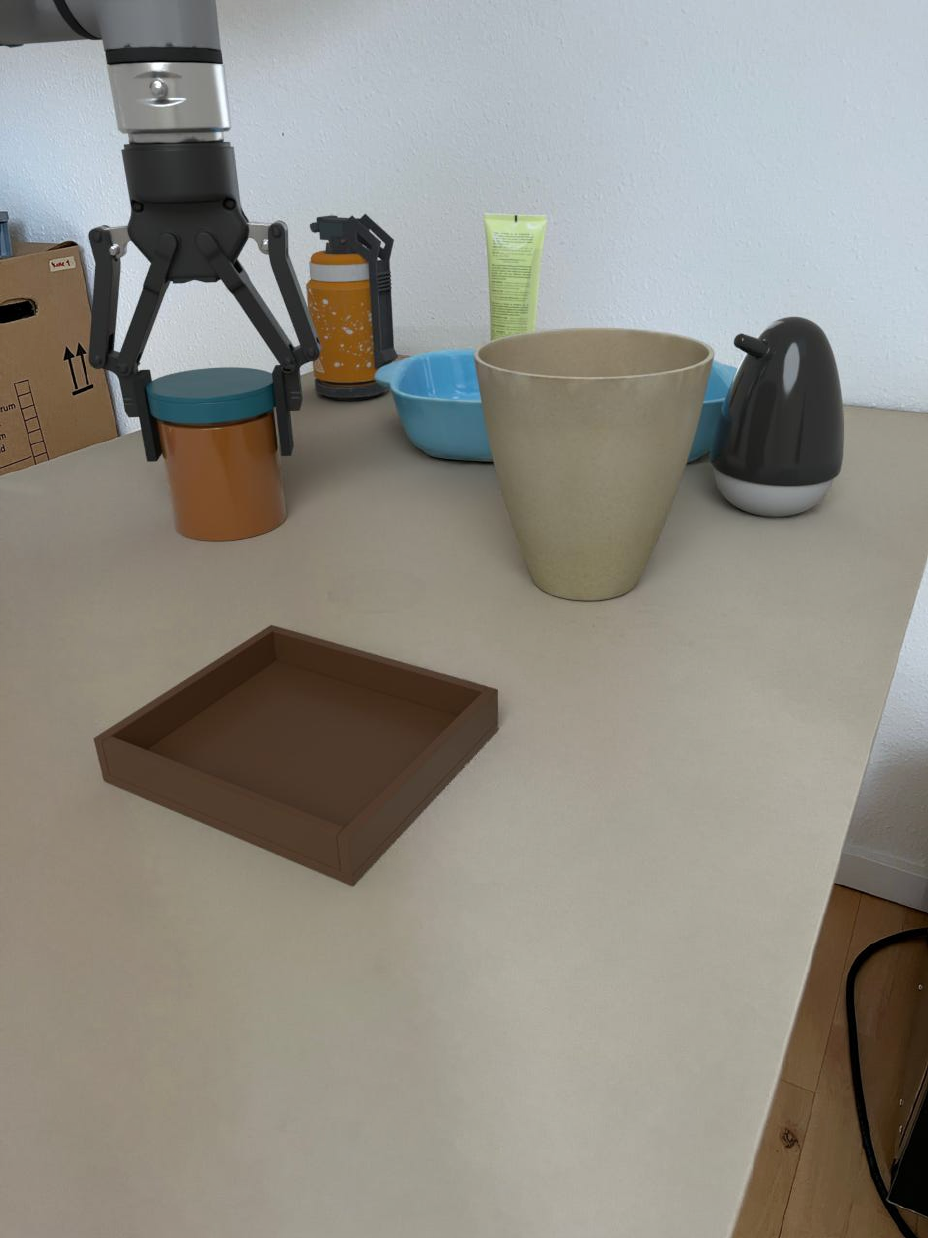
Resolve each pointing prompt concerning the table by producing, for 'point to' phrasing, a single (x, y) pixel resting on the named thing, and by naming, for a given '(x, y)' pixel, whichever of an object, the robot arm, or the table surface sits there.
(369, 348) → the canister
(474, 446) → the casserole dish
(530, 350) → the plant pot
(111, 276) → the robot arm
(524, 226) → the tube
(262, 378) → the lid
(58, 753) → the table surface
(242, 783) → the tray
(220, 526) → the jam jar
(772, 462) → the pump dispenser
